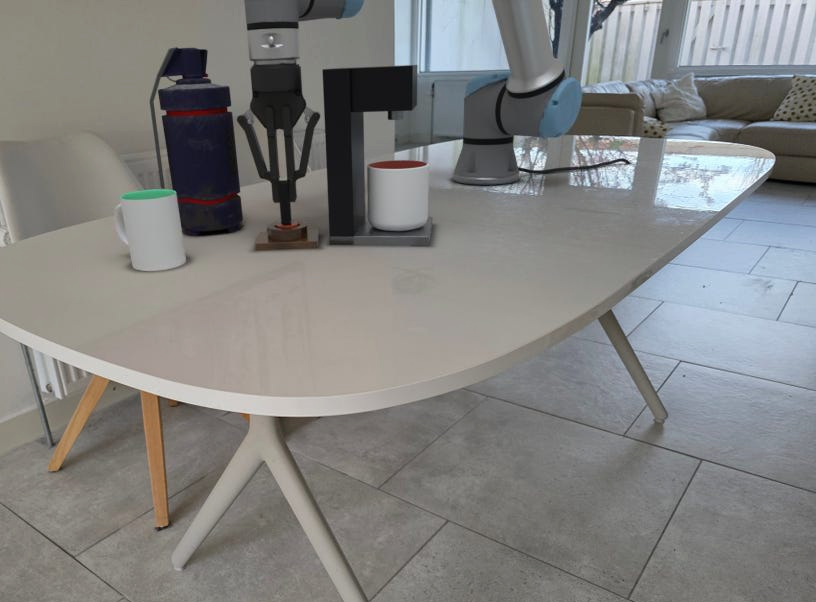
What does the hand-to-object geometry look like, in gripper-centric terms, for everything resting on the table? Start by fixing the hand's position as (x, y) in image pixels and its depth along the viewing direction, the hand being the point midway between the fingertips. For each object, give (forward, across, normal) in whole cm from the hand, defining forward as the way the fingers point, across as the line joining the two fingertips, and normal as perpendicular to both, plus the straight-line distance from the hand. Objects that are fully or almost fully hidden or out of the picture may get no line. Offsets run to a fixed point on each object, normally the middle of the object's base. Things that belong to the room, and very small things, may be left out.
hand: (286, 222), depth 102 cm
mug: (+4, -21, -8) cm, 23 cm away
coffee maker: (+4, +16, +3) cm, 17 cm away
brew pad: (+4, 0, 0) cm, 4 cm away
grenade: (+4, -16, +12) cm, 20 cm away
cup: (+2, +18, +3) cm, 19 cm away
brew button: (+2, 0, 0) cm, 2 cm away
